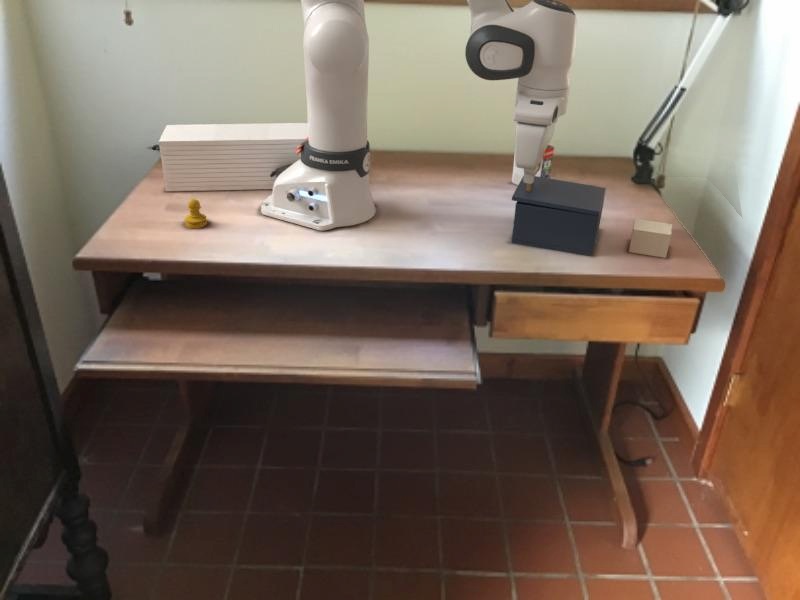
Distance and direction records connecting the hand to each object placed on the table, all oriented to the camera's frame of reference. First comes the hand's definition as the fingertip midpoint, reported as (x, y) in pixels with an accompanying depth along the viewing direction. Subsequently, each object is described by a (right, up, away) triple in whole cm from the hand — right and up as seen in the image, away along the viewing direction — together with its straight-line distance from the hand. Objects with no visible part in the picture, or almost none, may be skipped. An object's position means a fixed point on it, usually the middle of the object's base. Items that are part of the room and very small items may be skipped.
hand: (531, 176), depth 137 cm
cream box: (+21, -13, 0) cm, 25 cm away
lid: (+5, -4, 0) cm, 6 cm away
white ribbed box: (-57, +3, +25) cm, 62 cm away
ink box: (+4, +2, +25) cm, 25 cm away
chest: (+5, -11, +4) cm, 13 cm away
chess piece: (-63, -8, +6) cm, 63 cm away
